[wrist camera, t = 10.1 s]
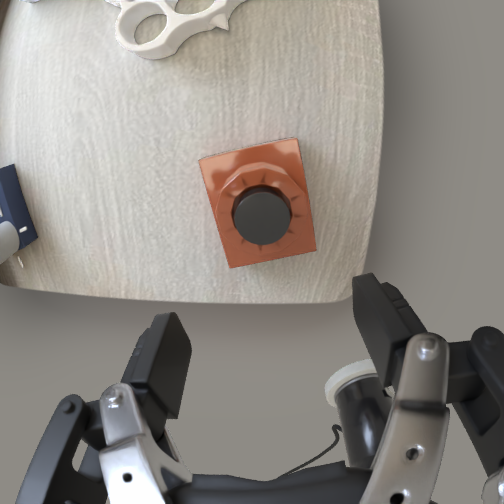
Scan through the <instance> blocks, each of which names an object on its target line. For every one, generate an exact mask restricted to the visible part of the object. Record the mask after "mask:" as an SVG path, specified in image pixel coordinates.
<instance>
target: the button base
mask: <svg viewBox="0 0 504 504" xmlns="http://www.w3.org/2000/svg"><path fill="white" fill-rule="evenodd" d="M199 165H200V169H201V172H202V176H203V179H204V183H205V186H206V190H207V194H208V197H209V200H210V204H211V207H212V211H213V214H214V218H215V221H216V225H217V228H218V231H219V235H220V238H221V241H222V245H223V248H224V251H225V255H226V258H227V261H228V264H229V268H235V267H240V266H245V265H250V264H255V263H260V262H265V261H270V260H274V259H279V258H284V257H289V256H294V255H299V254H303V253H308V252H313V251H316V250H317V249H316V242H315V235H314V228H313V221H312V215H311V209H310V203H309V197H308V191H307V185H306V180H305V174H304V169H303V164H302V158H301V153H300V148H299V144H298V139H297V138H294V137H291V138H285V139H280V140H275V141H270V142H265V143H260V144H255V145H251V146H246V147H242V148H238V149H234V150H230V151H226V152H222V153H218V154H214V155H210V156H206V157H203V158H202V159H200V160H199ZM259 187H265V188H270V189H273V190H275V191H276V192H278V193H279V194H280V195H281V196H282V197H283V198H284V200H285V202H286V204H287V207H288V209H289V212H290V225H289V228H288V230H287V232H286V233H285V235H284V236H283V237H282V238H281V239H279V240H278V241H276V242H274V243H272V244H268V245H257V244H253V243H250V242H248V241H247V240H245V239H244V238H243V237H242V236H241V235H240V234H239V232H238V231H237V229H236V226H235V219H234V218H235V211H236V206H237V203H238V201H239V199H240V198H241V197H242V196H243V195H244V194H245V193H246V192H247V191H249V190H251V189H254V188H259Z"/></svg>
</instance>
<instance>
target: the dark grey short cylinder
mask: <svg viewBox="0 0 504 504" xmlns="http://www.w3.org/2000/svg"><path fill="white" fill-rule="evenodd" d="M234 219H235V226H236V229H237V231H238V232H239V234H240V235H241V236H242V237H243V238H244V239H245V240H247V241H248V242H250V243H253V244H257V245H268V244H272V243H274V242H276V241H278V240H279V239H281V238H282V237H283V236H284V235H285V233H286V232H287V230H288V228H289V225H290V212H289V209H288V207H287V204H286V202H285V200H284V198H283V197H282V196H281V195H280V194H279V193H278V192H276V191H275V190H273V189H270V188H265V187H259V188H254V189H251V190H249V191H247V192H246V193H245V194H244V195H243V196H242V197H241V198H240V199H239V201H238V203H237V206H236V211H235V218H234Z"/></svg>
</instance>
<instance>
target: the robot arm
mask: <svg viewBox="0 0 504 504" xmlns="http://www.w3.org/2000/svg"><path fill="white" fill-rule="evenodd" d="M352 288H353V312H354V317H355V321H356V324H357V327H358V329H359V331H360V333H361V336H362V338H363V340H364V343H365V345H366V347H367V349H368V352H369V354H370V357H371V359H372V362H373V364H374V367H375V369H376V372H377V373H370V374H364V375H360V376H358V377H355V378H353V379H351V380H349V381H347V382H345V383H344V384H343V385H341V386H340V387H339V388H338V389H337V391H336V392H335V394H334V400H335V403H336V406H337V410H338V414H339V419H340V423H341V427H340V426H339V425H336V424H335V425H333V426H332V430H333V432H334V434H335V437H336V439H335V441H334V443H333V444H332V445H331V446H330V447H329V448H327V449H326V450H325V451H323V452H322V453H321V454H319V455H318V456H316V457H314V458H313V459H311V460H310V461H308V462H306V463H304V464H302V465H300V466H298V467H296V468H294V469H293V470H291V471H289V472H287V473H285V474H283V475H281V476H280V477H278V478H277V479H274V480H270V481H257V480H251V479H245V478H240V477H234V476H230V475H204V474H192V473H191V472H190V471H189V470H188V468H187V467H186V465H185V464H184V462H183V460H182V458H181V456H180V454H179V452H178V449H177V447H176V445H175V443H174V441H173V439H172V436H171V434H170V432H169V430H168V428H167V427H166V426H165V423H166V419H178V414H179V409H180V405H181V400H182V395H183V390H184V385H185V381H186V376H187V372H188V367H189V363H190V358H191V353H192V348H191V343H190V340H189V338H188V336H187V334H186V332H185V330H184V328H183V326H182V324H181V322H180V320H179V318H178V316H177V314H176V313H175V312H171V313H164V314H157V315H156V316H155V318H154V320H153V322H152V325H151V327H150V328H147V329H146V330H145V332H144V333H143V334H142V335H141V336H140V337H139V339H138V342H137V344H136V348H135V349H134V351H133V353H132V356H131V358H130V360H129V363H128V365H127V367H126V370H125V372H124V374H123V377H122V379H121V382H120V383H116V384H114V385H111V386H110V387H108V388H107V389H106V390H105V391H104V392H103V394H102V395H101V398H100V400H96V401H91V402H87V403H85V402H84V401H83V399H82V398H81V397H80V396H78V395H75V394H72V395H69V396H66V397H65V398H64V399H62V400H61V402H60V403H59V405H58V406H57V408H56V410H55V412H54V414H53V416H52V418H51V420H50V422H49V424H48V426H47V428H46V430H45V432H44V434H43V436H42V439H41V440H40V442H39V445H38V447H37V449H36V452H35V454H34V456H33V458H32V461H31V463H30V465H29V468H28V470H27V473H26V475H25V478H24V480H23V483H22V486H21V488H20V491H19V494H18V496H17V499H16V503H15V504H105V503H106V500H107V496H108V495H109V499H110V502H111V504H437V503H436V502H434V501H432V500H430V499H431V496H432V493H433V490H434V487H435V483H436V480H437V476H438V473H439V469H440V465H441V461H442V456H443V452H444V447H445V442H446V437H447V431H448V425H449V418H450V410H449V408H448V407H446V404H449V403H452V405H453V407H454V409H455V410H456V412H457V414H458V416H459V418H460V419H461V421H462V423H463V425H464V427H465V429H466V431H467V433H468V435H469V437H470V439H471V441H472V443H473V445H474V447H475V449H476V451H477V453H478V455H479V458H480V460H481V462H482V464H483V467H484V469H485V471H486V473H487V476H488V479H487V481H486V482H485V485H484V487H483V491H482V495H481V498H482V500H483V504H504V334H503V333H502V332H501V331H500V330H498V329H496V328H494V327H490V326H484V327H480V328H478V329H477V330H476V331H475V332H474V333H473V335H472V338H471V340H470V341H463V342H452V343H448V342H447V341H446V340H445V339H444V338H443V337H441V336H440V335H438V334H435V333H430V332H427V330H426V328H425V327H424V325H423V324H422V322H421V321H420V319H419V318H418V316H417V315H416V314H415V312H414V311H413V309H412V308H411V306H409V304H408V302H407V301H406V300H405V299H404V297H403V295H402V294H401V293H400V291H399V290H398V289H397V288H396V287H394V286H393V285H391V284H389V283H388V282H385V283H382V284H380V283H379V282H378V280H377V279H376V277H375V276H374V274H373V273H368V274H364V275H359V276H355V277H353V279H352ZM391 385H392V386H393V388H394V391H395V395H394V394H393V393H392V392H391V391H389V388H388V387H389V386H391ZM392 398H393V399H392ZM337 429H338V430H339V431H341V432H343V437H344V441H345V446H346V450H347V455H348V460H349V465H350V467H346V466H345V461H340V462H335V463H330V464H326V465H321V466H315V467H310V468H305V469H302V470H300V471H297V472H294V471H296V470H298V469H300V468H302V467H304V466H306V465H308V464H309V463H311V462H313V461H315V460H316V459H318V458H320V457H321V456H323V455H324V454H325V453H326V452H328V451H329V450H331V449H332V448H333V447H334V446H335V445H336V444H337V443H338V441H339V434H338V432H337ZM81 439H82V440H83V441H84V442H85V443H87V444H88V447H87V450H86V452H85V455H84V458H83V460H82V463H81V465H80V468H79V470H78V472H77V471H75V470H74V468H73V466H72V459H73V457H74V454H75V452H76V449H77V447H78V444H79V442H80V440H81ZM292 472H294V473H292ZM290 473H291V474H290ZM288 474H289V475H288Z"/></svg>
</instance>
